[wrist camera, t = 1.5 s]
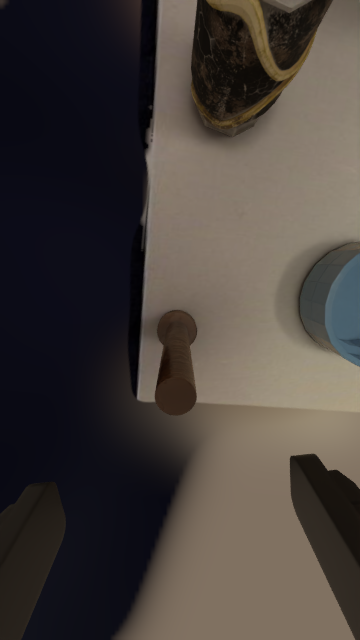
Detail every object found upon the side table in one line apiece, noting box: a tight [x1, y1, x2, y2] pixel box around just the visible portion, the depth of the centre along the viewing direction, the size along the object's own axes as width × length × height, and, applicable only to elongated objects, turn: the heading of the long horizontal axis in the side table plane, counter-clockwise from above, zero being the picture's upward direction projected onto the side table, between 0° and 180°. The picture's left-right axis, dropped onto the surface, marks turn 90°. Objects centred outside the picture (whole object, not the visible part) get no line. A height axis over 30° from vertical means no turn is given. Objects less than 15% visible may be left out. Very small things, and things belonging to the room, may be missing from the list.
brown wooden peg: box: [155, 310, 197, 415], centre depth 22 cm, size 4×4×15 cm
